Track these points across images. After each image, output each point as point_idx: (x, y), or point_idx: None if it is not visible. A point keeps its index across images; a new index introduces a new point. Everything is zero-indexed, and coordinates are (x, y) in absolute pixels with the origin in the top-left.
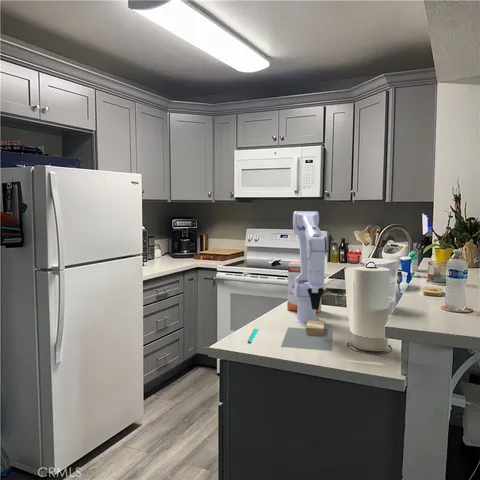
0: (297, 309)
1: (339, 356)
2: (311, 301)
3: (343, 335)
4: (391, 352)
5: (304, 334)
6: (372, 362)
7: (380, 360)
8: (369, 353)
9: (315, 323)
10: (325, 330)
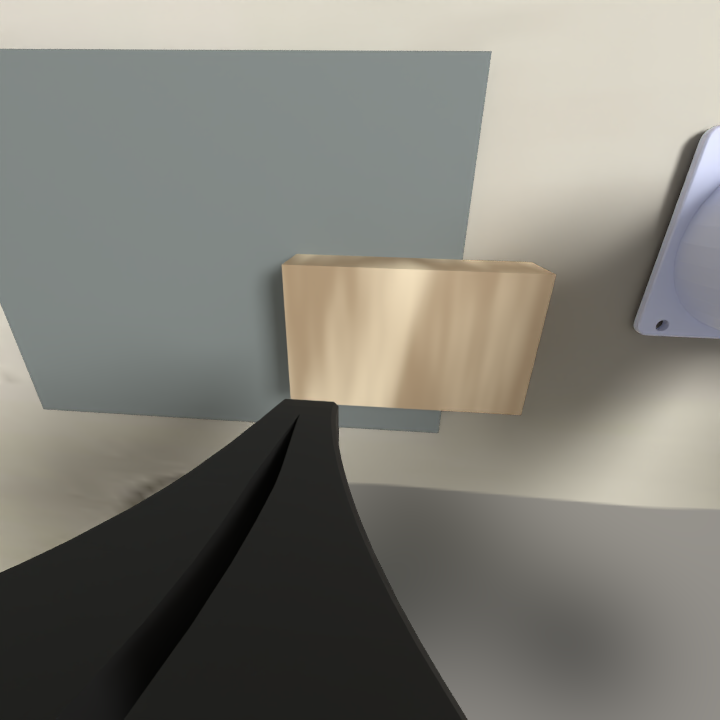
0: None
1: (15, 432)
2: (200, 470)
3: (372, 477)
4: None
5: (293, 241)
6: (28, 536)
7: None
8: None
9: (431, 346)
10: None
